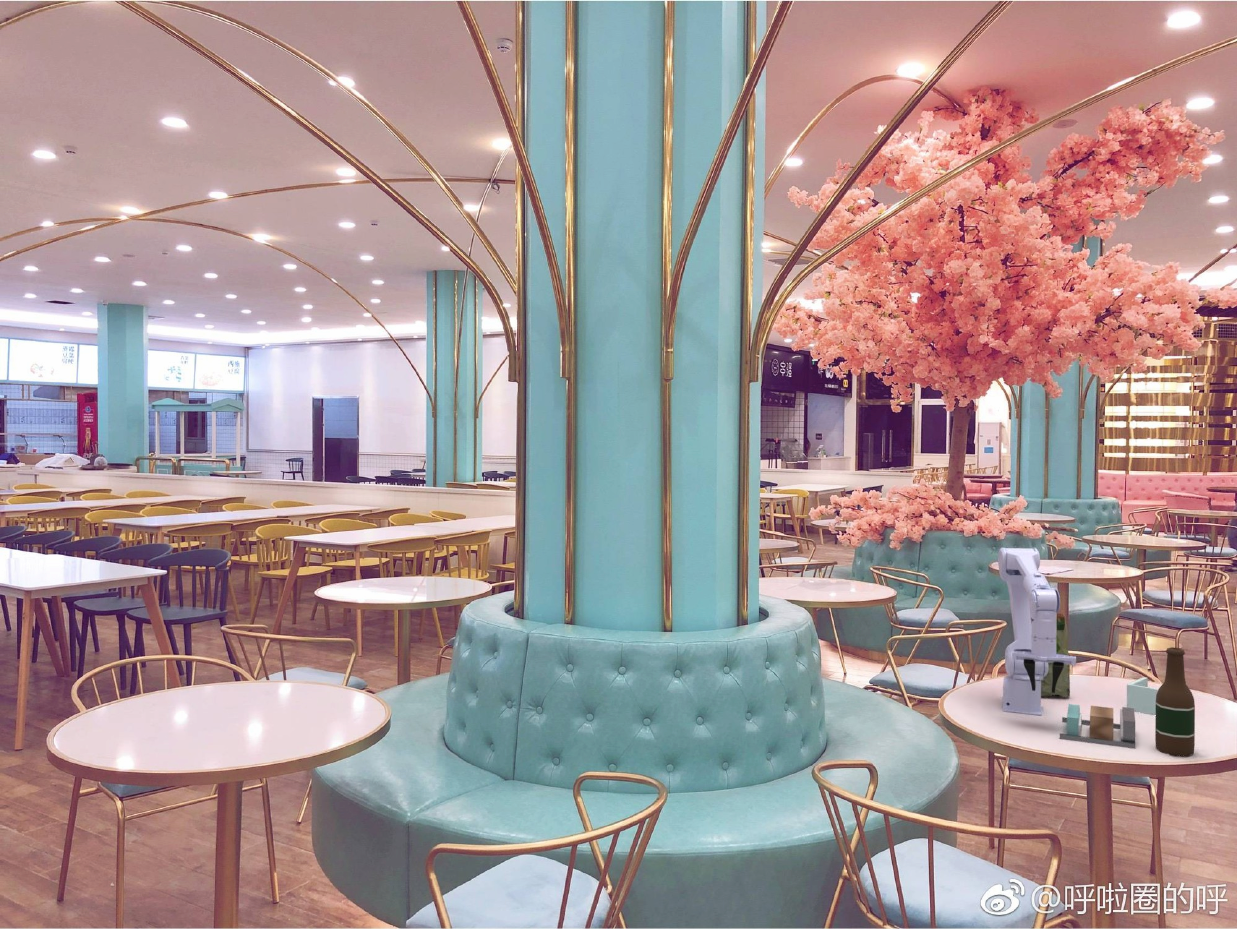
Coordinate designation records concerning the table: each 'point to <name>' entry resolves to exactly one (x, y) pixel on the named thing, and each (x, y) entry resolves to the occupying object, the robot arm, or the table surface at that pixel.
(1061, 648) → the pouch
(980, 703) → the table surface
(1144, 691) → the l-shaped corner panel
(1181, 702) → the beer bottle
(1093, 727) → the walnut block
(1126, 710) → the vise
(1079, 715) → the block
